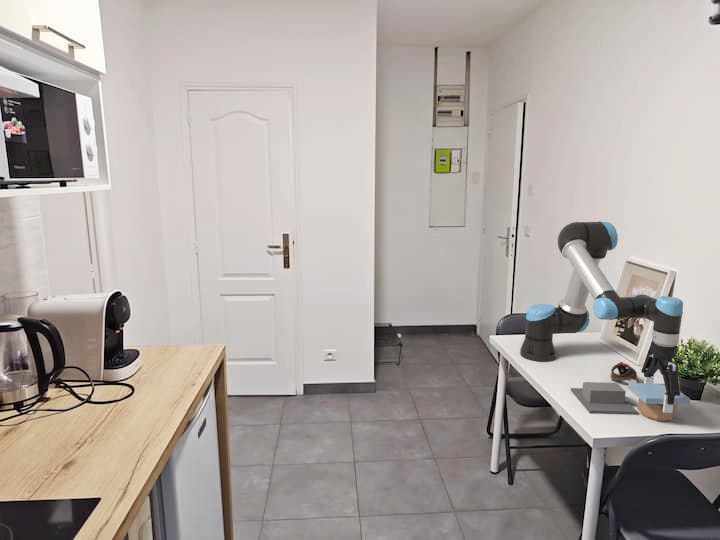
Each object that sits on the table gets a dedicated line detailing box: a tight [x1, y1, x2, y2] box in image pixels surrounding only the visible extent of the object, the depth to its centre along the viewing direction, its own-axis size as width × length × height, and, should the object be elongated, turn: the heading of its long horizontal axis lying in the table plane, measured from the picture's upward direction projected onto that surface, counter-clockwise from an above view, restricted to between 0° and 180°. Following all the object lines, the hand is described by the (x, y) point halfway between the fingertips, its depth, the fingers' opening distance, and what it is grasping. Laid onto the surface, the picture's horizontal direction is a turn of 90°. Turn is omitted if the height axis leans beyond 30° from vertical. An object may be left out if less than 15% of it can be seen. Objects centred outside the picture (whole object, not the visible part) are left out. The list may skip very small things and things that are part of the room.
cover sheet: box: [627, 382, 691, 406], centre depth 164 cm, size 12×14×2 cm
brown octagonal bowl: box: [637, 397, 677, 422], centre depth 165 cm, size 10×10×6 cm
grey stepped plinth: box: [570, 381, 639, 415], centre depth 175 cm, size 18×16×6 cm
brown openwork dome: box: [610, 361, 639, 383], centre depth 194 cm, size 12×10×8 cm
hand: (656, 403), depth 165 cm, fingers closed on cover sheet, 12 cm apart
